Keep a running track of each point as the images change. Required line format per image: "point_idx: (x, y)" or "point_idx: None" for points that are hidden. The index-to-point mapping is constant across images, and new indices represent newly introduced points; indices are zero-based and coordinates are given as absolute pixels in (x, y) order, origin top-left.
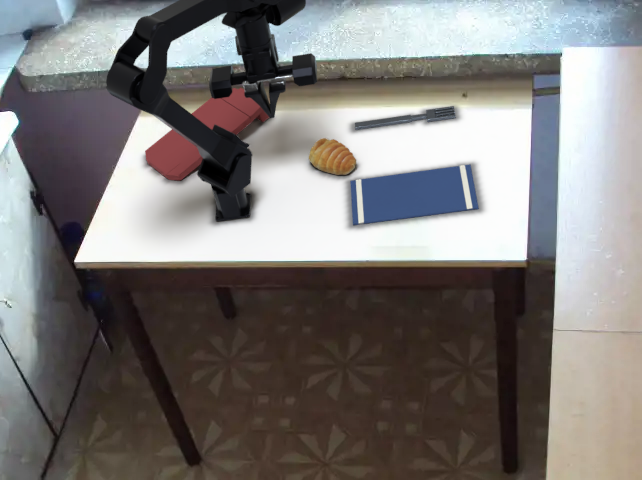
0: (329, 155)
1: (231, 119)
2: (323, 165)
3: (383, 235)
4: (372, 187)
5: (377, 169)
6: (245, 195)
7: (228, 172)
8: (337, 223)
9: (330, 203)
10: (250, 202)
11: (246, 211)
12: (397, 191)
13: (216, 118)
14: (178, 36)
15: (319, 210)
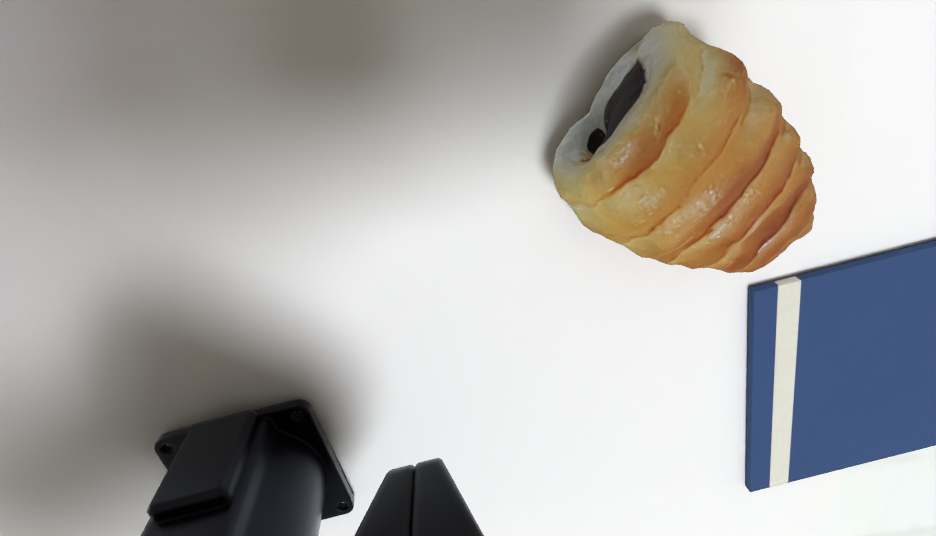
0: (703, 231)
1: None
2: (649, 256)
3: (836, 507)
4: (842, 325)
5: (875, 195)
6: (316, 507)
7: None
8: (692, 483)
9: (663, 404)
10: (328, 448)
11: (334, 496)
12: (933, 337)
13: None
14: None
15: (623, 439)
